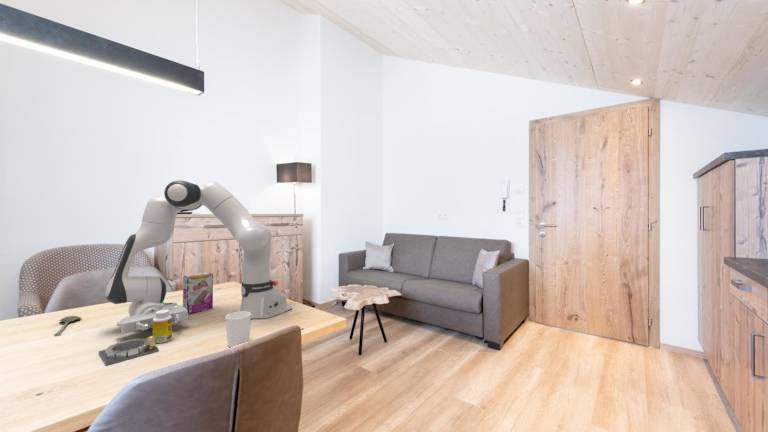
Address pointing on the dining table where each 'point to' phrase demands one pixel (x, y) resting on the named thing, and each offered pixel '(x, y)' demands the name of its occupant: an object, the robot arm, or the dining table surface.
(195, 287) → the candy bar box
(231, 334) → the white cup
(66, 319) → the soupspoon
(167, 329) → the supplement bottle
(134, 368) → the dining table surface
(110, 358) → the dock
